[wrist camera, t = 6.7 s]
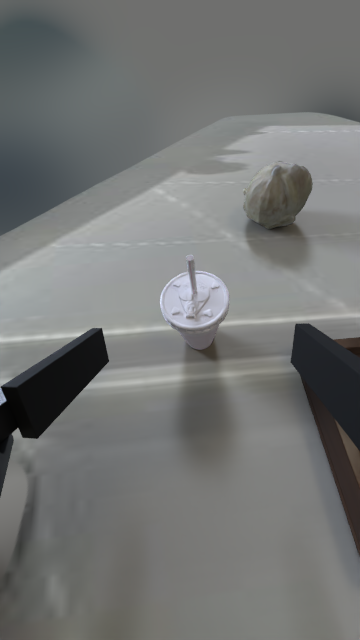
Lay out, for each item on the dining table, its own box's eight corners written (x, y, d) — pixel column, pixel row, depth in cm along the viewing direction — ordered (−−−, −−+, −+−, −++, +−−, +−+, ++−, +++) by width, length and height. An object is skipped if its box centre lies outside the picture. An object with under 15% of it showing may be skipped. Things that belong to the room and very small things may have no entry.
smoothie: (225, 317, 26) (237, 231, 14) (222, 362, 24) (234, 306, 11) (180, 313, 28) (154, 232, 15) (172, 356, 25) (134, 300, 13)
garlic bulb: (289, 234, 35) (342, 181, 25) (253, 249, 32) (296, 198, 23) (261, 194, 36) (301, 131, 27) (225, 206, 34) (254, 142, 24)
